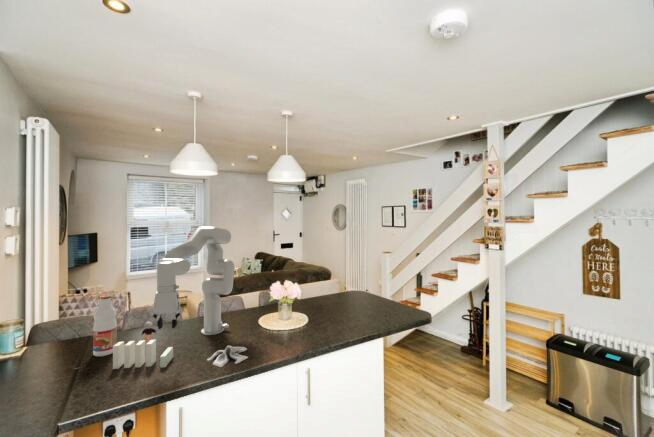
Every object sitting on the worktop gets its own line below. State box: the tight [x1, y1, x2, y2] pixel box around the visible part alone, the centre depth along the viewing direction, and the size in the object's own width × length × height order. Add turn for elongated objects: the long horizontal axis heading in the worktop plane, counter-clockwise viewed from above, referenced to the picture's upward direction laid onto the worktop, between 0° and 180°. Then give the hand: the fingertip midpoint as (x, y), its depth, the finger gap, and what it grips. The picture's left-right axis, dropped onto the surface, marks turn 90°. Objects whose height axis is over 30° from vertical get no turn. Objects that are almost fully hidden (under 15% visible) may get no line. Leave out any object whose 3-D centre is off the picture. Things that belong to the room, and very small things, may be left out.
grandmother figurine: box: [140, 321, 158, 344], centre depth 156 cm, size 8×4×13 cm, turn 117°
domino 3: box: [134, 339, 146, 368], centre depth 136 cm, size 2×5×10 cm, turn 9°
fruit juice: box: [92, 294, 118, 357], centre depth 148 cm, size 9×9×28 cm
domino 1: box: [112, 340, 125, 370], centre depth 134 cm, size 2×5×10 cm, turn 9°
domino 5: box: [159, 346, 174, 368], centre depth 138 cm, size 2×5×10 cm
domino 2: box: [123, 340, 136, 369], centre depth 135 cm, size 2×5×10 cm, turn 9°
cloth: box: [206, 345, 249, 368], centre depth 143 cm, size 22×19×6 cm
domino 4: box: [145, 339, 157, 368], centre depth 136 cm, size 2×5×10 cm, turn 9°
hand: (167, 327), depth 138 cm, fingers open, 5 cm apart
